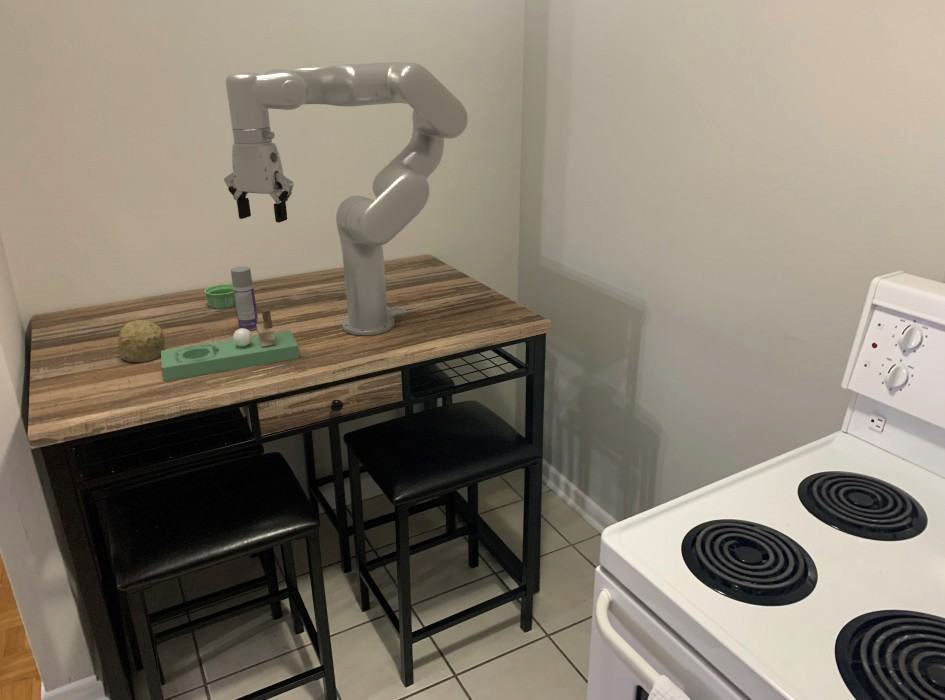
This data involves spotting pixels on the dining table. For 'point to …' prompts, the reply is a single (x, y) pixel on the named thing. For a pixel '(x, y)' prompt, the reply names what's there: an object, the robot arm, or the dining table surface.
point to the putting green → (226, 356)
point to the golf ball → (242, 337)
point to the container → (244, 297)
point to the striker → (266, 329)
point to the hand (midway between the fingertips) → (263, 219)
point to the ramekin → (220, 296)
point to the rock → (140, 341)
